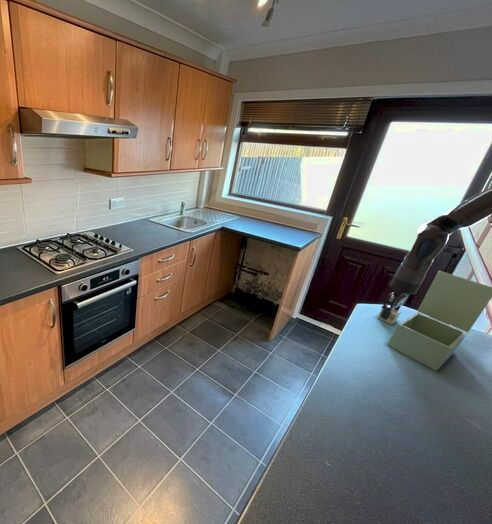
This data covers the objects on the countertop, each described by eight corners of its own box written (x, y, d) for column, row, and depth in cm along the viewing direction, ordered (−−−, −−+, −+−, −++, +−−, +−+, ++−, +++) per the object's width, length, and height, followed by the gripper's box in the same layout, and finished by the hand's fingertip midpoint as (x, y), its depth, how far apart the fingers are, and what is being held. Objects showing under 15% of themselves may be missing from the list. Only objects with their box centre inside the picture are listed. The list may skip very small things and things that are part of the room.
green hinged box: (435, 371, 84) (451, 348, 80) (386, 345, 94) (398, 324, 90) (452, 354, 92) (467, 333, 88) (405, 331, 101) (417, 311, 98)
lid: (496, 289, 79) (503, 282, 82) (438, 271, 89) (445, 265, 91) (467, 332, 88) (475, 324, 90) (417, 311, 97) (424, 304, 100)
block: (382, 315, 110) (387, 305, 108) (395, 321, 107) (401, 312, 105) (377, 318, 108) (381, 308, 106) (390, 325, 105) (396, 315, 103)
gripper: (413, 287, 93) (391, 326, 100) (428, 279, 100) (407, 316, 107) (387, 277, 99) (368, 315, 106) (403, 270, 106) (384, 305, 113)
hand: (388, 315), depth 107 cm, fingers open, 8 cm apart
